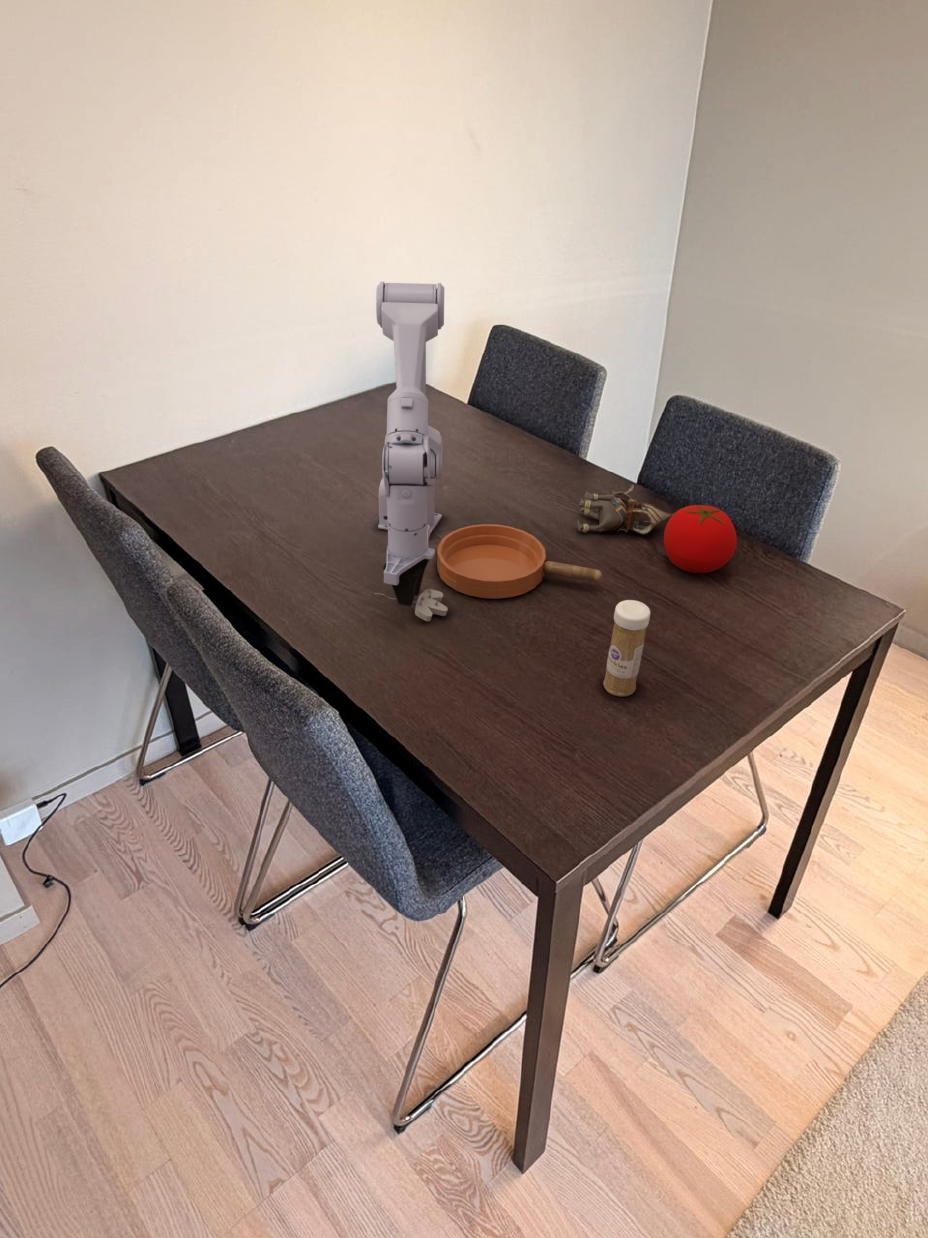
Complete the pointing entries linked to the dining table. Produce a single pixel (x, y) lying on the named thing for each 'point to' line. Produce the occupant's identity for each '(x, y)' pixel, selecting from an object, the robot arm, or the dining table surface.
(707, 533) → the tomato
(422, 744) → the dining table surface
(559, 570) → the pan handle
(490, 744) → the dining table surface
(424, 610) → the game controller
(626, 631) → the sprinkles bottle
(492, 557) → the pan
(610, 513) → the figurine
